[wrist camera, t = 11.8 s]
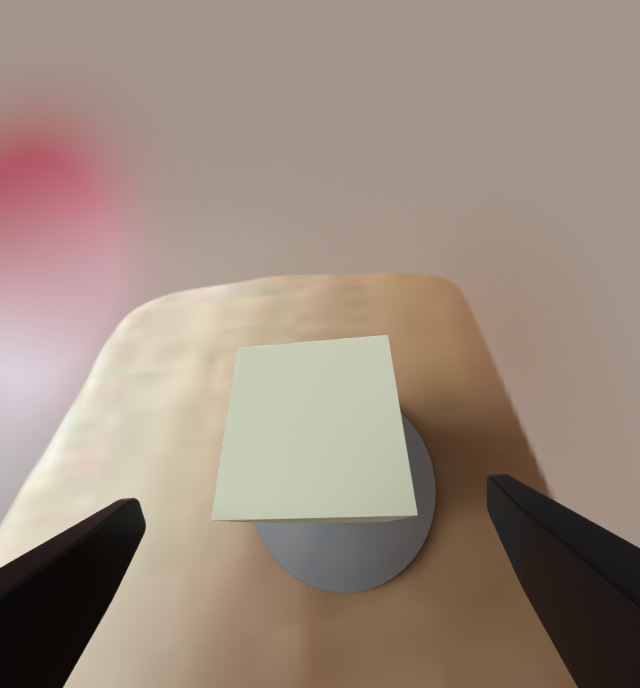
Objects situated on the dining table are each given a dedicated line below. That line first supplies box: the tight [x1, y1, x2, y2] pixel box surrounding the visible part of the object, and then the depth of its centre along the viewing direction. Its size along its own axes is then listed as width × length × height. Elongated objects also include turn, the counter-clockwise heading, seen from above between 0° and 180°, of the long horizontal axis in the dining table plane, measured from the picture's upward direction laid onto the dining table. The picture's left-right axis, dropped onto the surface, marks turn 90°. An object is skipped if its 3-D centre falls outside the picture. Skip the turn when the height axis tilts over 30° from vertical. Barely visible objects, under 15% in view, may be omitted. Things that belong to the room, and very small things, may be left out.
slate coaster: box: [255, 413, 436, 593], centre depth 18 cm, size 11×11×1 cm
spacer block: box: [211, 335, 418, 524], centre depth 13 cm, size 5×5×11 cm
